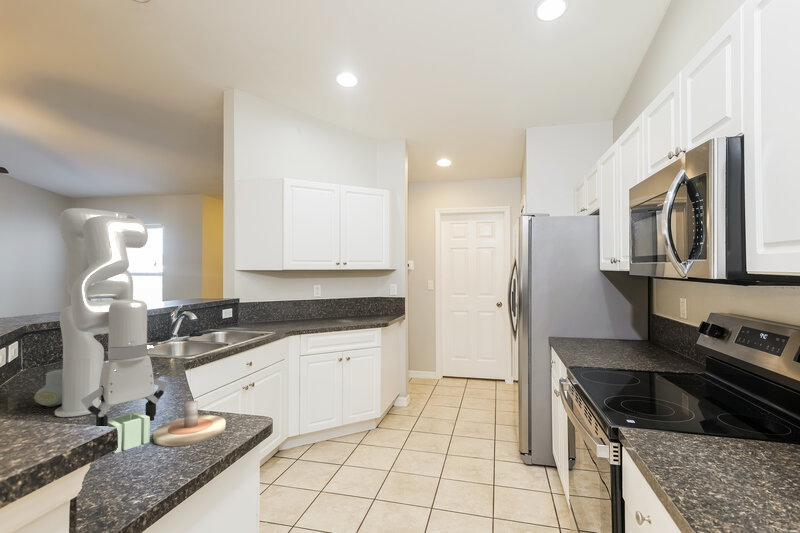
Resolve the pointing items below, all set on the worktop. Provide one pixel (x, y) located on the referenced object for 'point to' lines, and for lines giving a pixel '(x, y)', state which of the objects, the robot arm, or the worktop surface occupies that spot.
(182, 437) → the post base
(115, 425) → the collar
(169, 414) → the worktop surface
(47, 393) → the air freshener
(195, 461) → the worktop surface
